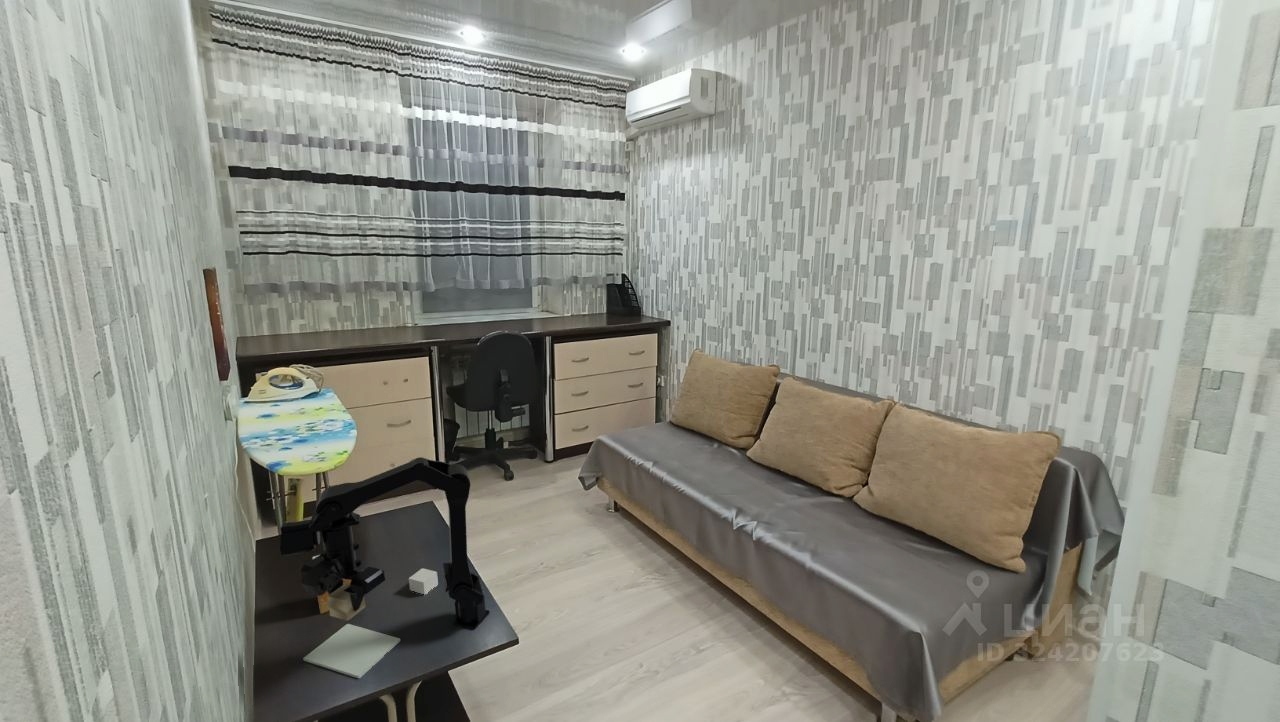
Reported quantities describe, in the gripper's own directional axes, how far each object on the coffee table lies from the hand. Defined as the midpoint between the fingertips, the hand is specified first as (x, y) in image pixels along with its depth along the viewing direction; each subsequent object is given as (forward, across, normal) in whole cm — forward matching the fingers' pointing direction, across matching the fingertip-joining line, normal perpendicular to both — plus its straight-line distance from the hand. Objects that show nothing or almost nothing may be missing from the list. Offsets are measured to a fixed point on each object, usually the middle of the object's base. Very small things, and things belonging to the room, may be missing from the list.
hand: (347, 607), depth 124 cm
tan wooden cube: (+1, 0, 0) cm, 1 cm away
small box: (+11, -18, +12) cm, 24 cm away
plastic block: (+11, -1, +24) cm, 27 cm away
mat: (+11, 0, 0) cm, 11 cm away
